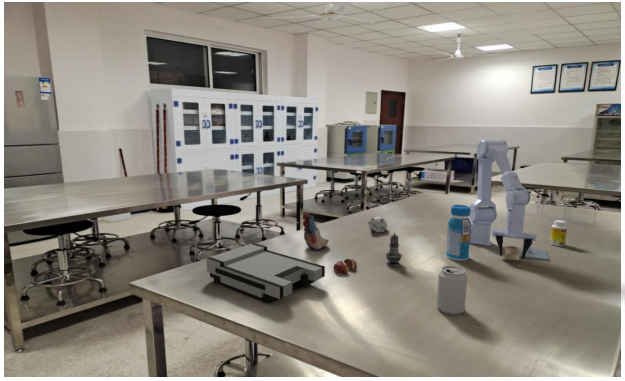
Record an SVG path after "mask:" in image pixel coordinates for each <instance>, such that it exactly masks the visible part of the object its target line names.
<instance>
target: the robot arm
mask: <svg viewBox="0 0 625 381" xmlns="http://www.w3.org/2000/svg"><path fill="white" fill-rule="evenodd" d="M476 149H477V150H476V159H477V160H478V172H477V173H478V174H477V176H478V177H477V199H476V200H474V201H473V202H471V203H470V206H469V207H470V216H468V218H469V220H470V222H471V227H470V229H471V235H470V244H471V245H480V246H488V247H489V246H492V241H491V235H492V237H495V240H496V243H497V246H498V250H499V256H500V257H503V245H504V238H507V239H508V238H509V239H516V240H517V239H519V240H523V245H522V247H523V252H522V257H521V259H522V260H524V259H526V258H525V255H526V253H527V251H528V249H529V247H530V246H533V242H536V241H537V234H533V233H528V232H524V225H525V224H524V223H525V218H526V217H525V215H526V206H527V205H528V204H529V203H530V202H531V194H530V191H529V190H528V188H527V189H526V188H525V186H523V185H522V183H521V180H520V178H519V176H518V173H517V172H515V171H513V170H512V167H511V163H510V160H509V156H508V153H509V146H508V143H507V140H505V139H498V140H497V139H496V140H495V139H493V140H492V139H489V140H488V139H487V140H486V139H482V140H480V141H479V143H477V147H476ZM493 162H495V163H496V164H497V165H496V166H497V167H498V169H499V171H500V172H501V174H502V175H501V177H500V180H501V182H502V185H503V188H504V190H505V192H506V195H505V197H504V198H505V202H506V209H507V215H506V224H505V225H506V226H505V230H497V229H496V230H494V229H493V230H492V224H494V221H495V220H496V219H497V217H498V212H497V205H496V204H495V203H494V202H493V201H492V199H491V198H492V197H491V196H492V175H493ZM491 231H492V234H491Z"/></svg>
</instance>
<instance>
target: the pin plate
mask: <svg viewBox="0 0 625 381" xmlns="http://www.w3.org/2000/svg"><path fill="white" fill-rule="evenodd" d="M519 248H520V256H519V258H522V252H523V246H519ZM524 259H533V260H538V261H539V260H540V261H548V262H549V261H550V258H549V255H548V254H547V251H546V249H541V248H540V249H539V248H533V245H531V246H530V247H529V249H528V251H527V253H526V255H525V258H524Z"/></svg>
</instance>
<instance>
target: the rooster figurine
mask: <svg viewBox="0 0 625 381" xmlns="http://www.w3.org/2000/svg"><path fill="white" fill-rule="evenodd" d="M302 218H303V219H304V221H303V222H302V225H303V227H304V229H303V231H304V232H303V239H304V241H305V244H306V246H308V248H310V249H314V250H316V251H317V250H320V249H322V247H325V246H327V245H328V243H329V239H325V238H324V237H323V236H321V232H320V228H319V227H317V225H316V222H315V219H314V216H313V215H312V214H309V213H308V212H305V213H304V214H303V215H302Z"/></svg>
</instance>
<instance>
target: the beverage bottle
mask: <svg viewBox="0 0 625 381" xmlns="http://www.w3.org/2000/svg"><path fill="white" fill-rule="evenodd" d="M470 207H471V206H468V205H464V204H452V205H451V207H450V209H451V210H450V214H451V217H450V218H449V220H448V223H447V225H448V227H447V229H446V230H447V235H446V252H445V256H446V257H447V259H449V260H453V261H460V262H461V261H462V262H463V261H467V260H468V259H469V257H470V235H471V229H470V227H471V222H470V221H471V219H470V217H469V216H470Z"/></svg>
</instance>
